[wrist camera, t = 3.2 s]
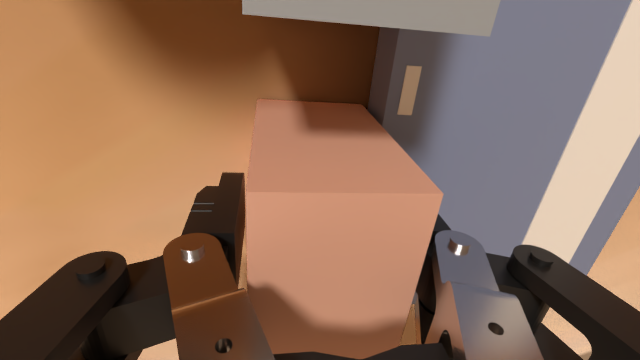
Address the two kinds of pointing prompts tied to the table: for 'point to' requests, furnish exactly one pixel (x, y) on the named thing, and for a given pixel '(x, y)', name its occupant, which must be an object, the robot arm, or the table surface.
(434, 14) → the stub grey
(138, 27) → the table surface
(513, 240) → the ticket slab
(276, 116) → the stub terracotta
